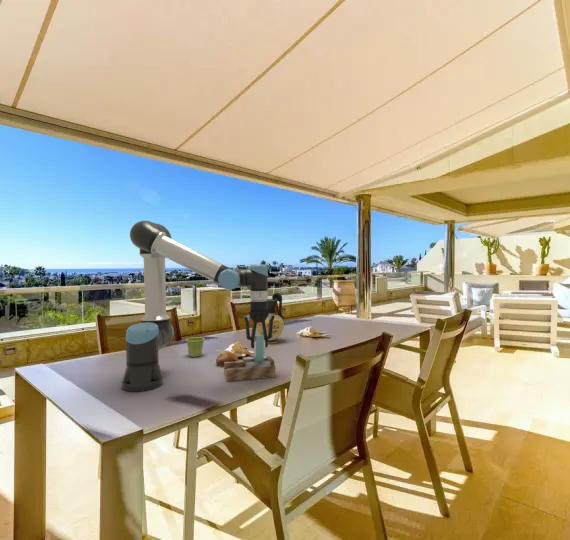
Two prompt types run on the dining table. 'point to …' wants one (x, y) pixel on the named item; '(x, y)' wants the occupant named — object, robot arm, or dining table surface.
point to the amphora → (278, 320)
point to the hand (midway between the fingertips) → (259, 355)
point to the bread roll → (226, 358)
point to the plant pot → (195, 346)
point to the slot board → (249, 369)
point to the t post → (259, 348)
